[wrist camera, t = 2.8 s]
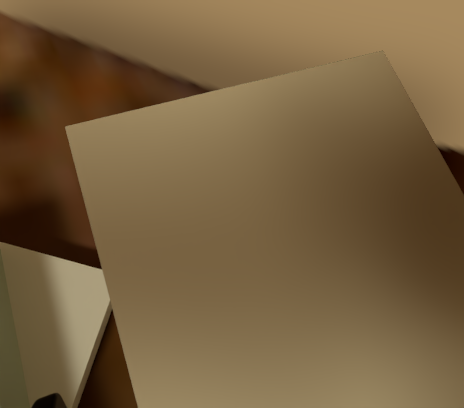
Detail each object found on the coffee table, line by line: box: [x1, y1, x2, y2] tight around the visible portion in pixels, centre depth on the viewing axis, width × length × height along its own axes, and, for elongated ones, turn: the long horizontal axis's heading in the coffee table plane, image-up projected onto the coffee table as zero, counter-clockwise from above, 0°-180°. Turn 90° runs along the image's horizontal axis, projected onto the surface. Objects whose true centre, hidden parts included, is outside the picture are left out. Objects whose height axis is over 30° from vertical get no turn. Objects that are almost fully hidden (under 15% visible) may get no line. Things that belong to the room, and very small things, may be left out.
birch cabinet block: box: [65, 51, 464, 408], centre depth 12 cm, size 6×5×13 cm
